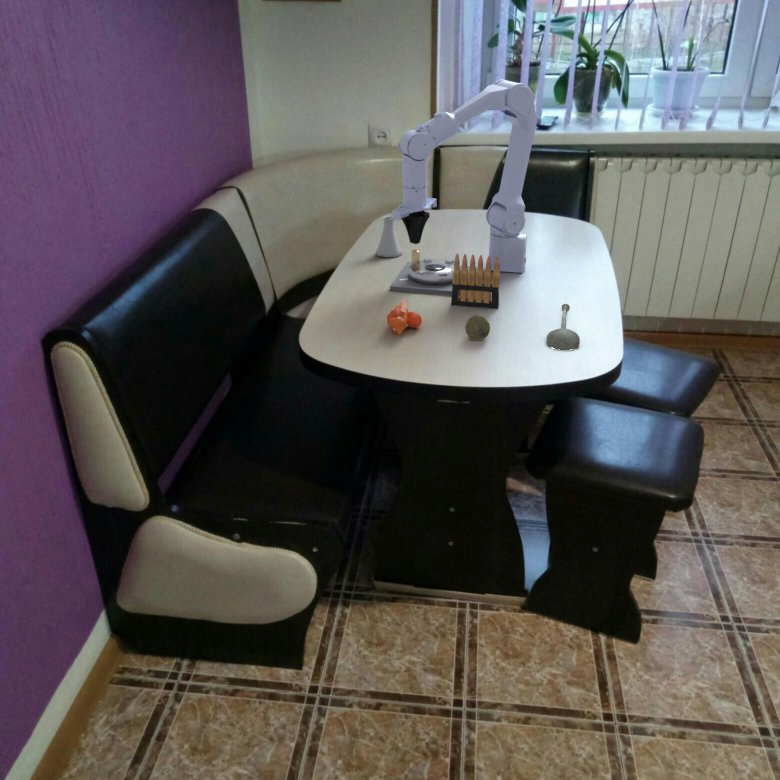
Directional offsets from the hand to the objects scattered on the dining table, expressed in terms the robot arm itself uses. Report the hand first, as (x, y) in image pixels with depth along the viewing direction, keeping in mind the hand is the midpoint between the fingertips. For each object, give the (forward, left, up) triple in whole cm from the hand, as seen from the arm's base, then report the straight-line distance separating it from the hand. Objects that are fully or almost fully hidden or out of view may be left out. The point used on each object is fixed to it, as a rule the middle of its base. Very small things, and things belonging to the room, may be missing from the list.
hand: (414, 242), depth 175 cm
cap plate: (-5, -1, -9) cm, 11 cm away
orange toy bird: (-4, +28, -10) cm, 30 cm away
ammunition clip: (-17, +13, -10) cm, 23 cm away
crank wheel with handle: (-5, -1, -8) cm, 9 cm away
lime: (-20, +30, -10) cm, 37 cm away
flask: (+11, -18, -10) cm, 23 cm away
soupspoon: (-37, +21, -10) cm, 44 cm away
